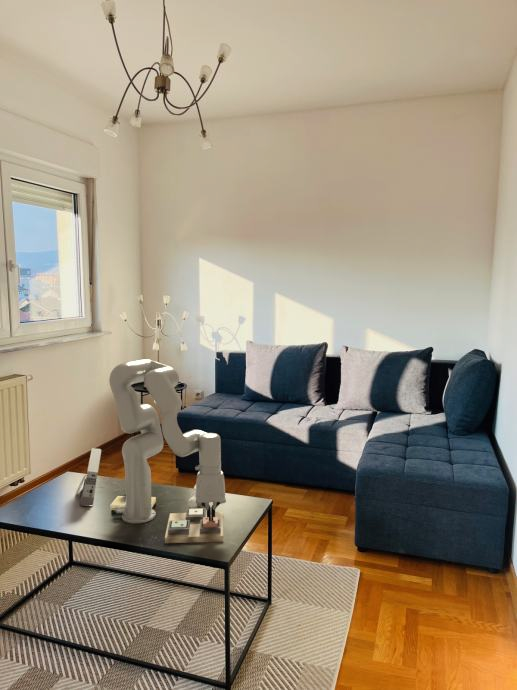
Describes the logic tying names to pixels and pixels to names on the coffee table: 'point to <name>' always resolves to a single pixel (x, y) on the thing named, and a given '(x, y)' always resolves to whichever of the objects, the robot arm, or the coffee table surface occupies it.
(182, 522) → the tile sage
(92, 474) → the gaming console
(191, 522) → the tile board
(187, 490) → the coffee table surface
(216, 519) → the tile terracotta
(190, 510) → the tile cream
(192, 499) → the white statuette
